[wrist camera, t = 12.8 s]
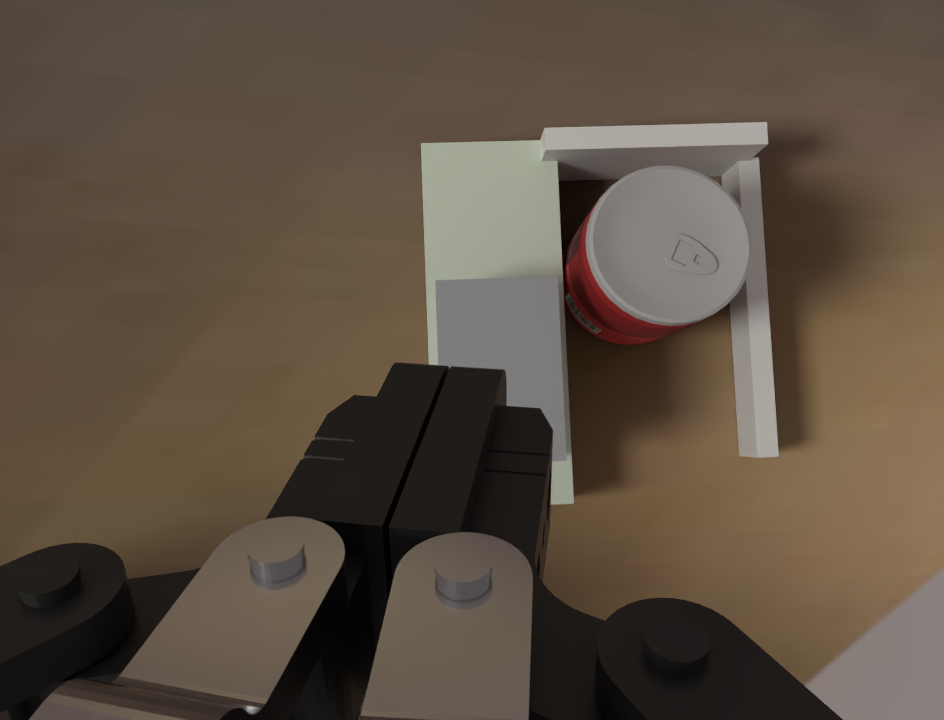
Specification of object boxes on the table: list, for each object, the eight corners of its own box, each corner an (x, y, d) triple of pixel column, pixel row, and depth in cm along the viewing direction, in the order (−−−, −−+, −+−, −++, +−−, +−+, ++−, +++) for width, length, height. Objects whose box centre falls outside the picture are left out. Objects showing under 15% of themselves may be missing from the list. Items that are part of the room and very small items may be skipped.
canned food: (679, 356, 53) (743, 336, 42) (546, 334, 52) (575, 308, 41) (697, 231, 53) (764, 178, 42) (566, 208, 53) (599, 150, 42)
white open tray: (761, 489, 52) (828, 501, 43) (434, 503, 51) (433, 518, 42) (739, 156, 54) (800, 101, 45) (422, 165, 53) (419, 110, 44)
